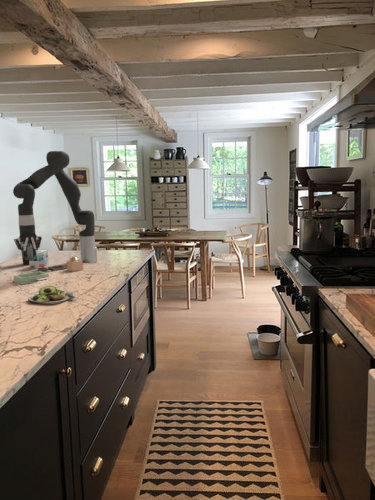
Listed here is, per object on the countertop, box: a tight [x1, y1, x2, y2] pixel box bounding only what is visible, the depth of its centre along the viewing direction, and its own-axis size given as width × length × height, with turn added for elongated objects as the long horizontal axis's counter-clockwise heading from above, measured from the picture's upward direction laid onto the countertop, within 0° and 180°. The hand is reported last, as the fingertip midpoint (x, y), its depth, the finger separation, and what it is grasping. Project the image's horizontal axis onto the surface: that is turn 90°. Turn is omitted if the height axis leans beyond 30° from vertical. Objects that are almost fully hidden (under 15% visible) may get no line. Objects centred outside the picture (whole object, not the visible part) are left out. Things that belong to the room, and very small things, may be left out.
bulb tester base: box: [31, 264, 67, 273], centre depth 220 cm, size 18×10×3 cm, turn 135°
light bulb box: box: [28, 249, 50, 269], centre depth 230 cm, size 11×7×11 cm, turn 168°
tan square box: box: [66, 259, 84, 272], centre depth 218 cm, size 6×6×7 cm
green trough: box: [13, 271, 49, 285], centre depth 201 cm, size 14×10×3 cm
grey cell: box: [26, 243, 34, 260], centre depth 199 cm, size 4×4×8 cm
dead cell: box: [69, 256, 79, 262], centre depth 218 cm, size 4×4×8 cm
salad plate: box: [27, 285, 76, 305], centre depth 166 cm, size 19×18×5 cm
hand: (29, 256), depth 199 cm, fingers closed on grey cell, 4 cm apart
